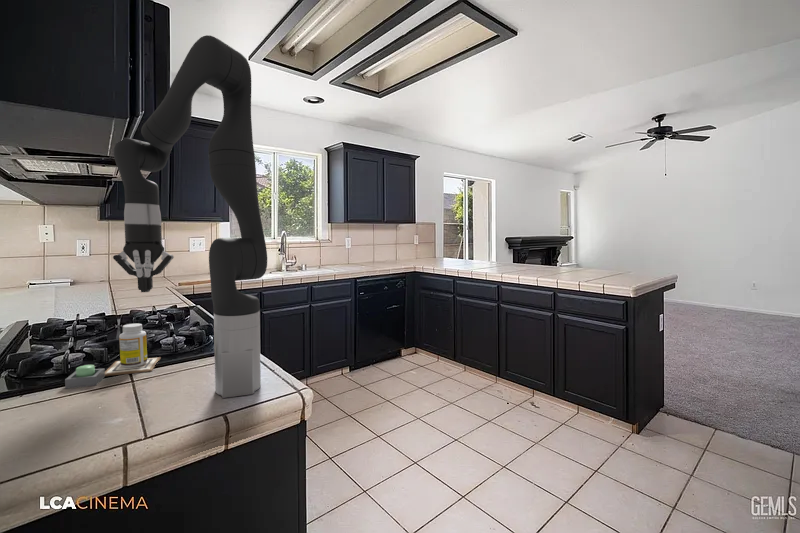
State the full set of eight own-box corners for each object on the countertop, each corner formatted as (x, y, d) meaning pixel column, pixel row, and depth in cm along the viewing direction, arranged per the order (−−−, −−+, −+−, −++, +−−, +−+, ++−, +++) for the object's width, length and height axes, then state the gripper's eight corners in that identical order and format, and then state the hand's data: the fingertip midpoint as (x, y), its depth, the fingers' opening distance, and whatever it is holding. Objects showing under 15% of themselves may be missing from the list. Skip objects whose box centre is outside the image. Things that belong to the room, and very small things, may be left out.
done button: (91, 378, 82) (91, 368, 82) (73, 380, 81) (73, 370, 81) (97, 373, 85) (96, 364, 85) (79, 375, 84) (79, 365, 84)
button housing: (96, 385, 82) (95, 376, 82) (65, 388, 80) (64, 379, 80) (105, 376, 87) (104, 368, 87) (76, 379, 85) (75, 371, 85)
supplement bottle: (138, 359, 97) (136, 321, 96) (152, 362, 95) (151, 323, 94) (115, 366, 92) (113, 326, 91) (129, 370, 90) (127, 328, 89)
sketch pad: (151, 371, 91) (151, 369, 91) (101, 376, 87) (101, 374, 87) (160, 358, 100) (160, 356, 100) (115, 362, 96) (115, 360, 96)
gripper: (104, 221, 86) (108, 295, 88) (170, 223, 91) (172, 293, 92) (116, 222, 93) (119, 290, 95) (176, 224, 98) (178, 288, 99)
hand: (145, 291), depth 93 cm, fingers closed
